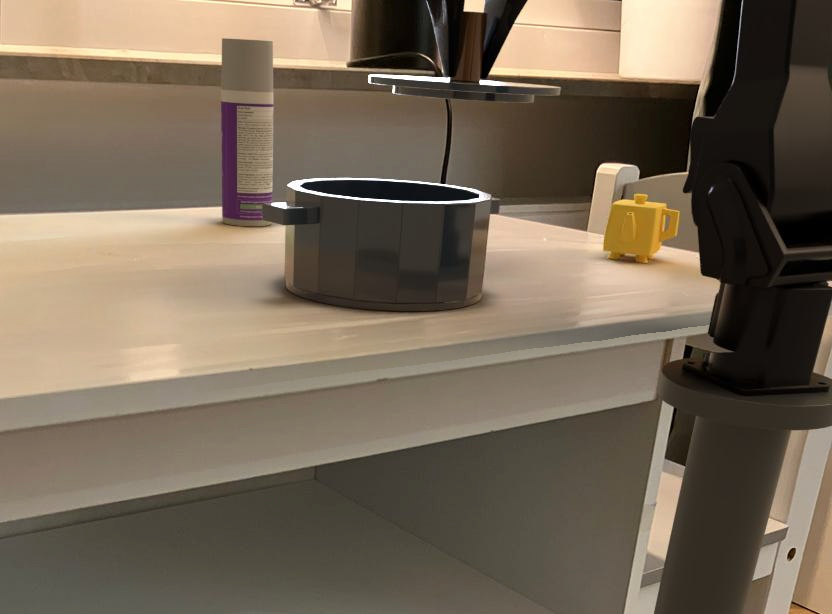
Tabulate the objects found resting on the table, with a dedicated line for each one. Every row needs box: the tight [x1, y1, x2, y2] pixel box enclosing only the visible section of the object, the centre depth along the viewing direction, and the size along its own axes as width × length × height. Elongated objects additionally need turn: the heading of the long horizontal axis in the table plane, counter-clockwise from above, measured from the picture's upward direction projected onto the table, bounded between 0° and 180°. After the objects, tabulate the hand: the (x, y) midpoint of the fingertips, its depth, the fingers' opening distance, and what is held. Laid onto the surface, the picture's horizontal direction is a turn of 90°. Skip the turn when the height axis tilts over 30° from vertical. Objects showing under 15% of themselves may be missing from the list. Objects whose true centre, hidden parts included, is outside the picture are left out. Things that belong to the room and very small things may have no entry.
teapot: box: [602, 193, 681, 264], centre depth 90 cm, size 8×6×5 cm
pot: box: [262, 177, 501, 312], centre depth 72 cm, size 14×19×6 cm
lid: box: [367, 10, 562, 104], centre depth 79 cm, size 15×15×6 cm
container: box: [220, 37, 274, 227], centre depth 95 cm, size 5×5×15 cm
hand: (465, 77), depth 80 cm, fingers closed on lid, 2 cm apart
